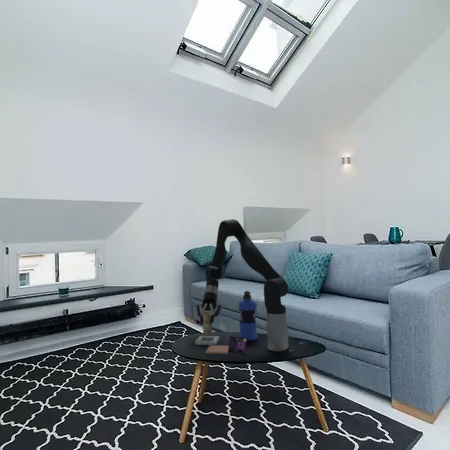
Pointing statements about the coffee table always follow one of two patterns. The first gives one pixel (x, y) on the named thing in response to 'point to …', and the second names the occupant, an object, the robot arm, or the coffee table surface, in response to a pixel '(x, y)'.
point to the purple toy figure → (240, 346)
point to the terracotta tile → (217, 349)
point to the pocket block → (213, 342)
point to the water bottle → (247, 317)
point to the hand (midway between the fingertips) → (206, 322)
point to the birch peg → (207, 322)
